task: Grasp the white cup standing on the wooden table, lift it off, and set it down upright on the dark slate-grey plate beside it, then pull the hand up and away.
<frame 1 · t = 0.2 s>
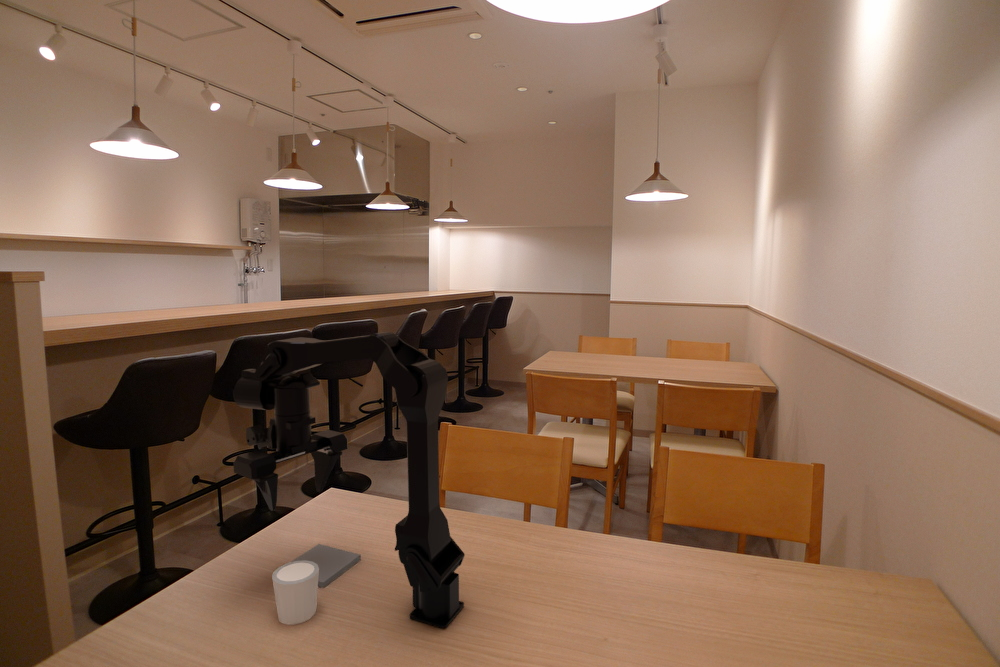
hand: (296, 500, 93), 14 cm above the table, tool pointing down, fingers open, 9 cm apart
white cup: (297, 614, 84), on the table
slate plate: (321, 566, 98), on the table
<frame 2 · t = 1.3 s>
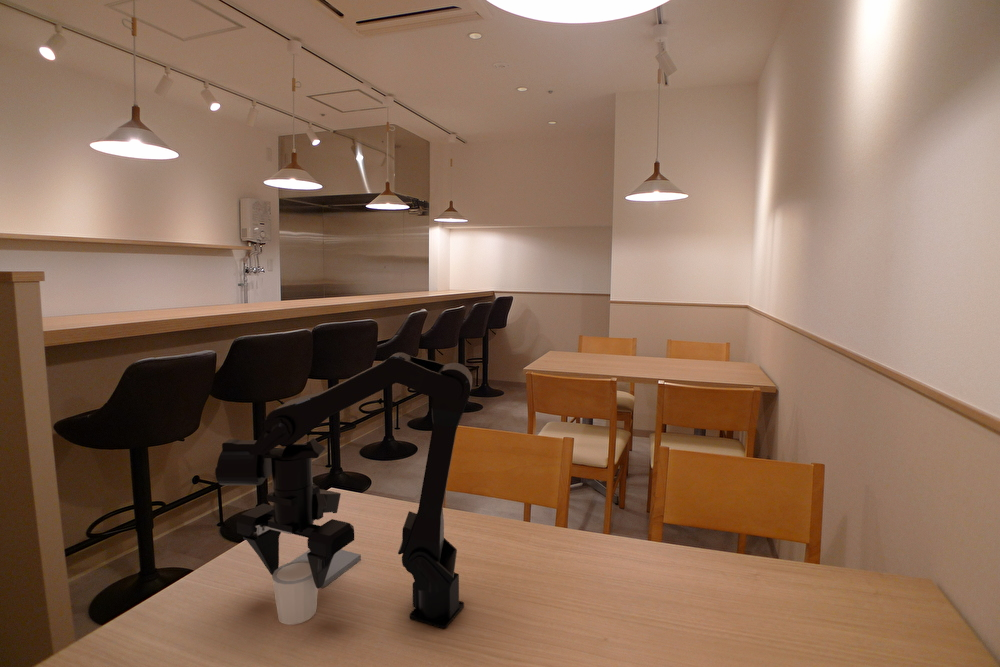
hand: (296, 580, 84), 5 cm above the table, tool pointing down, fingers open, 9 cm apart
nothing on the table moved.
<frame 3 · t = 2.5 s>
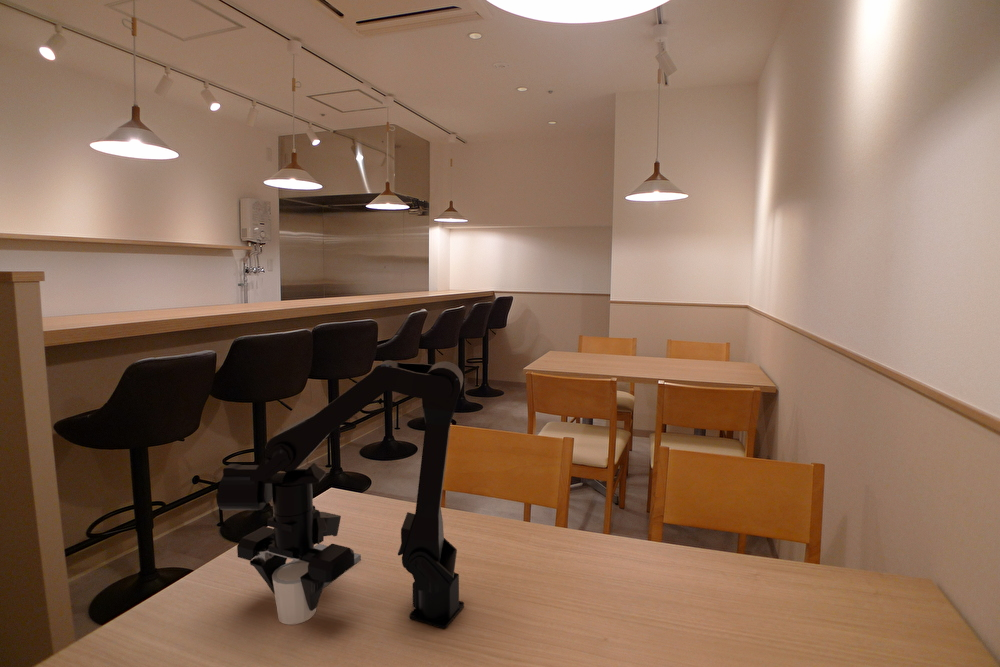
hand: (297, 603, 84), 2 cm above the table, tool pointing down, fingers closed on white cup, 6 cm apart
white cup: (297, 614, 84), on the table, touching gripper
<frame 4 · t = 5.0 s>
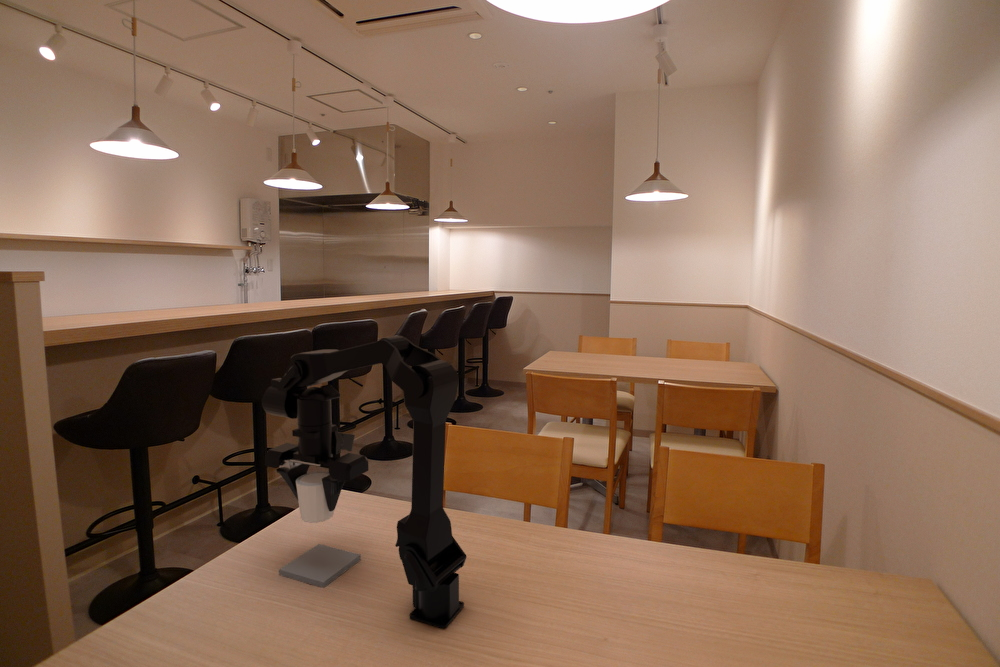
hand: (317, 507, 96), 12 cm above the table, tool pointing down, fingers closed on white cup, 6 cm apart
white cup: (317, 516, 96), point 10 cm above the table, touching gripper
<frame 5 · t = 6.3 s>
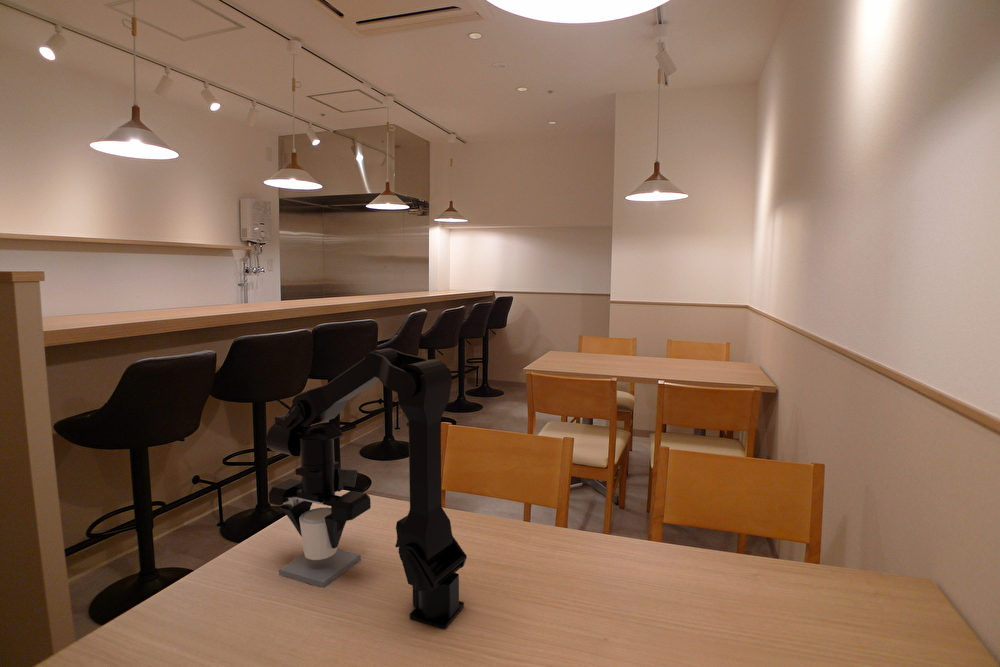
hand: (320, 543, 97), 4 cm above the table, tool pointing down, fingers closed on white cup, 6 cm apart
white cup: (320, 552, 97), point 3 cm above the table, touching gripper
when the fingers open (4 cm above the table, at t = 7.3 s): white cup drops 1 cm, resting on slate plate.
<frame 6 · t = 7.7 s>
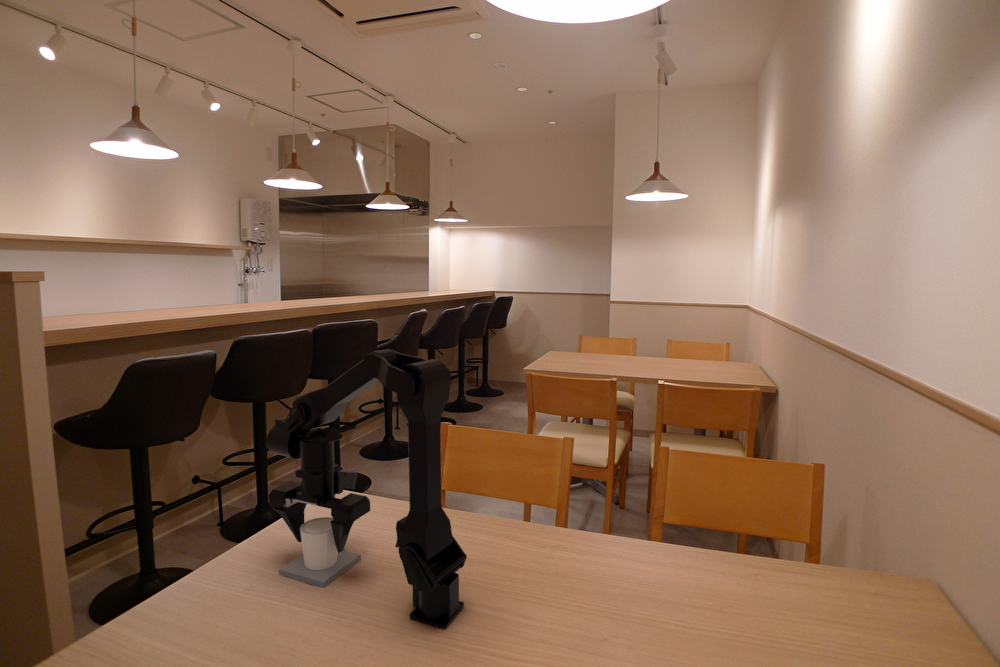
hand: (320, 546, 97), 4 cm above the table, tool pointing down, fingers open, 9 cm apart
white cup: (320, 562, 97), point 1 cm above the table, touching slate plate
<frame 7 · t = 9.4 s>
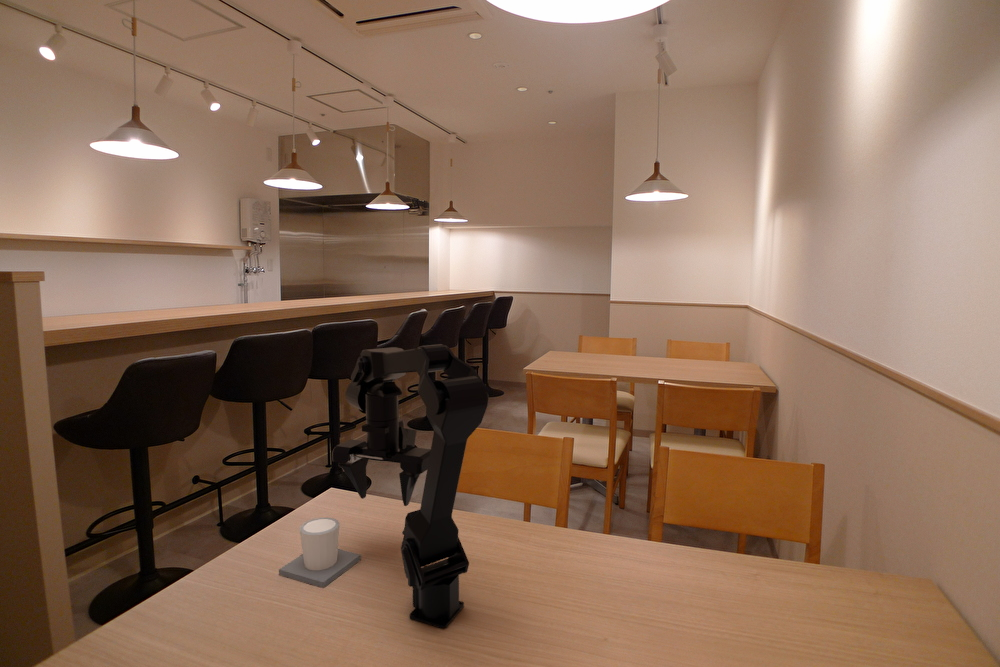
hand: (384, 501, 98), 12 cm above the table, tool pointing down, fingers open, 9 cm apart
nothing on the table moved.
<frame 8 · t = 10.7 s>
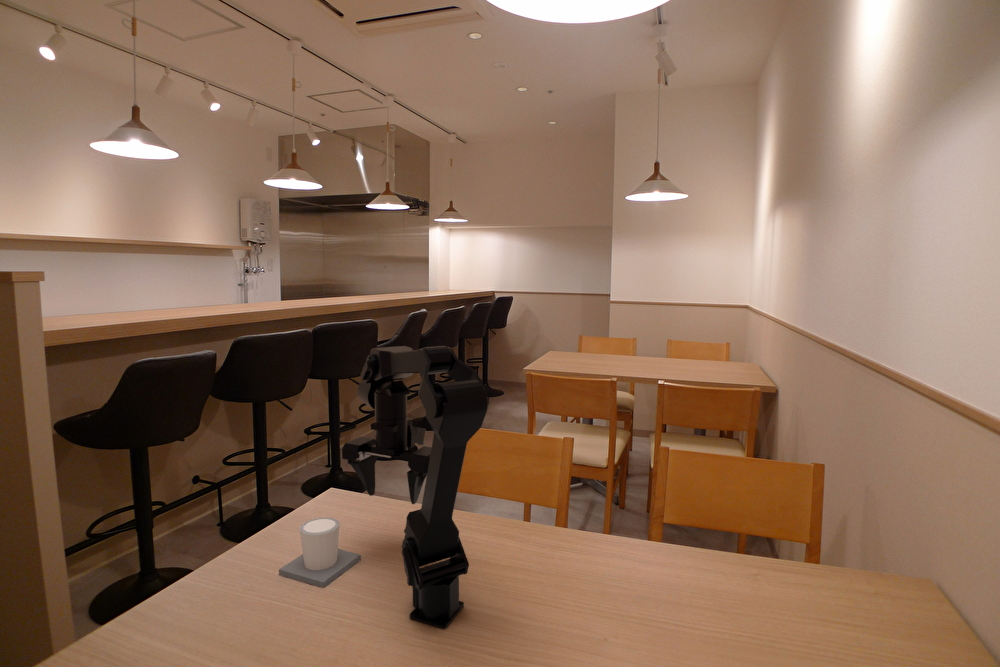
hand: (392, 499, 98), 12 cm above the table, tool pointing down, fingers open, 9 cm apart
nothing on the table moved.
at the end: white cup 0.1 cm off-centre on the slate plate, point 0.8 cm above the slate plate's base; white cup tilted 0°; the gripper is holding nothing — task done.
